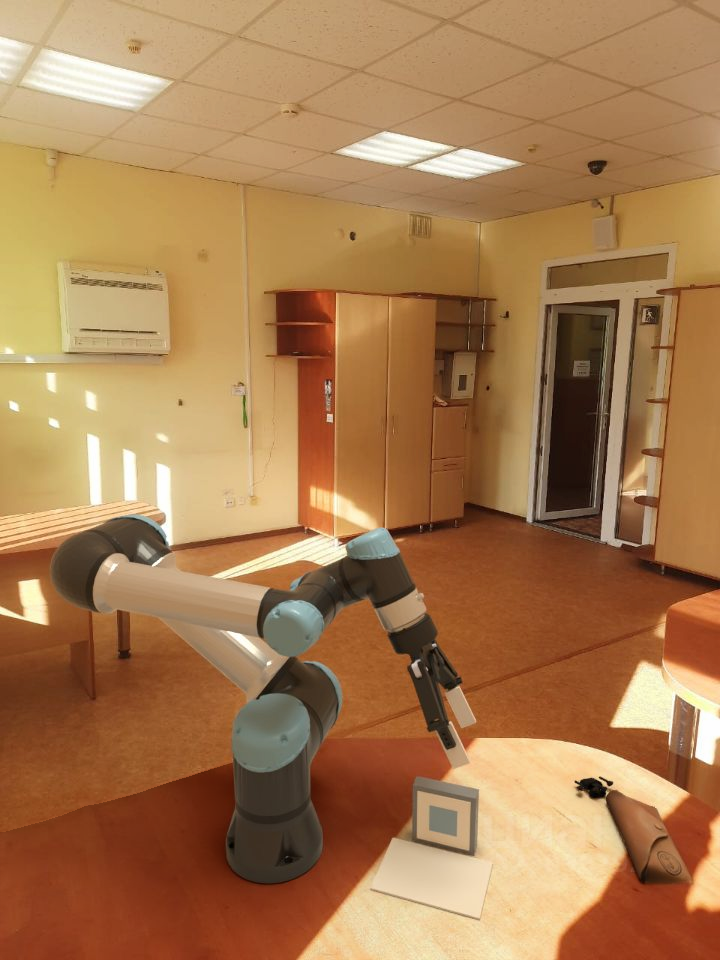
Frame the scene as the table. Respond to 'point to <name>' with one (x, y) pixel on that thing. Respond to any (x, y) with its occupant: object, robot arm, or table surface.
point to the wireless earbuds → (594, 786)
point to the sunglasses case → (647, 841)
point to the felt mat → (434, 878)
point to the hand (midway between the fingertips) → (465, 743)
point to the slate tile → (445, 815)
